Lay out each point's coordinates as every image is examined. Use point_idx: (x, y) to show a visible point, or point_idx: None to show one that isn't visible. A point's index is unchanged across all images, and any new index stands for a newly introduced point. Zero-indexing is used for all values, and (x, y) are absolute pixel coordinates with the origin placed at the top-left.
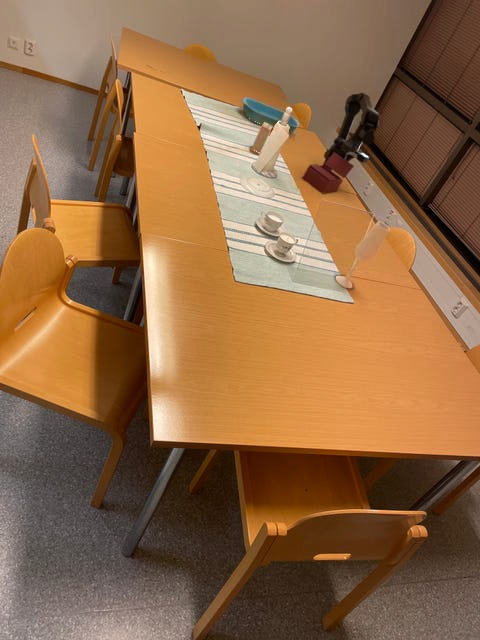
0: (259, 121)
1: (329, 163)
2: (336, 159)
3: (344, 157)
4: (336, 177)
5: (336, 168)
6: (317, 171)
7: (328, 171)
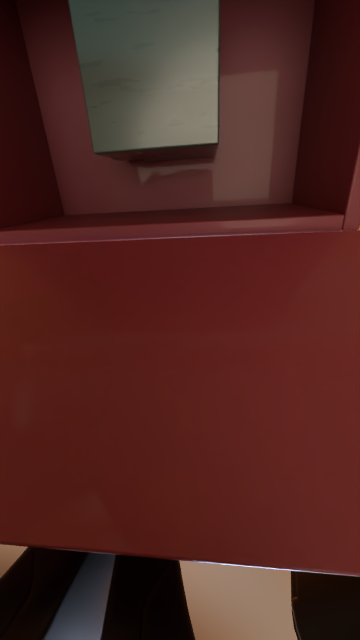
0: None
1: (312, 268)
2: (265, 396)
3: (115, 624)
4: (76, 223)
5: (135, 275)
6: (328, 94)
7: (223, 218)
